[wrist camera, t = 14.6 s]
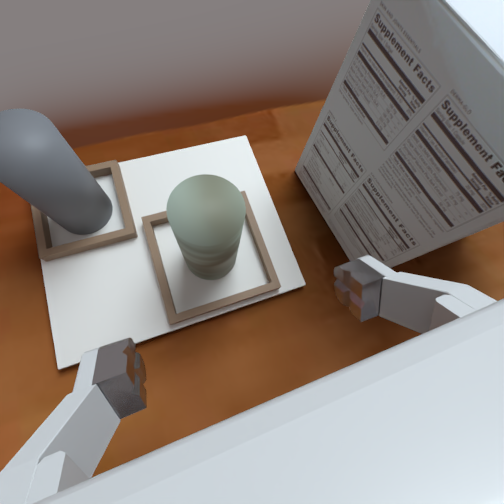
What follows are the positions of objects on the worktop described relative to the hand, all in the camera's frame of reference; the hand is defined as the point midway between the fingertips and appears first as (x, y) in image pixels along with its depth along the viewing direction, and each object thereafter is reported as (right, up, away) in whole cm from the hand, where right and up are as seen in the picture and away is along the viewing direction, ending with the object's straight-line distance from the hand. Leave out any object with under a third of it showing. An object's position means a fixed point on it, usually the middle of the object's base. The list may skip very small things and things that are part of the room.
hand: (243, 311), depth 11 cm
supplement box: (+13, +8, +18) cm, 24 cm away
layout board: (-7, +4, +14) cm, 16 cm away
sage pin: (-3, +2, +13) cm, 14 cm away
